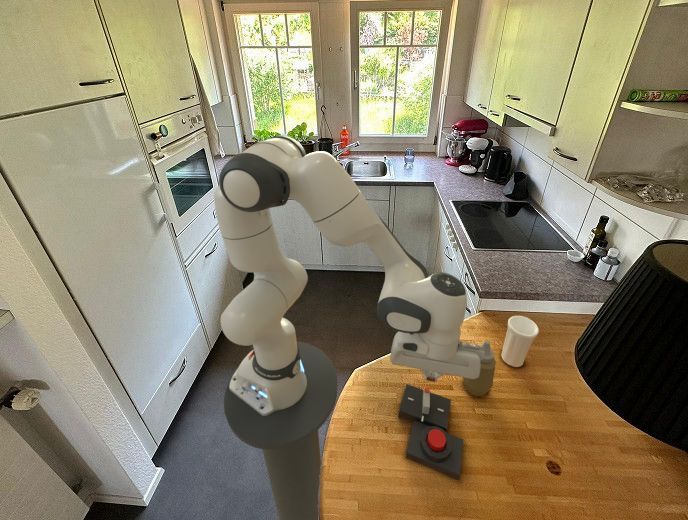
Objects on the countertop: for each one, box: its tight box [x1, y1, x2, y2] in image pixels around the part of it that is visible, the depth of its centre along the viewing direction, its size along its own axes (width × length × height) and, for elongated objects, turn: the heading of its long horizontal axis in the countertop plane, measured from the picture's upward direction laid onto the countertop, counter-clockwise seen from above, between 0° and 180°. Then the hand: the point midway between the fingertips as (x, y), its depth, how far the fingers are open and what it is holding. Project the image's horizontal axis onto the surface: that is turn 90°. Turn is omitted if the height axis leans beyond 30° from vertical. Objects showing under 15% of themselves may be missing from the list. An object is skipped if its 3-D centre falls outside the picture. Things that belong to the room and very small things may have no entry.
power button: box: [427, 429, 446, 452], centre depth 75 cm, size 4×4×2 cm
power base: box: [405, 420, 464, 481], centre depth 76 cm, size 12×8×4 cm, turn 68°
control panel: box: [398, 383, 452, 433], centre depth 84 cm, size 12×9×3 cm
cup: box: [500, 315, 540, 368], centre depth 96 cm, size 8×8×14 cm
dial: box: [422, 387, 431, 414], centre depth 83 cm, size 5×2×3 cm, turn 168°
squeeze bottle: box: [462, 339, 497, 397], centre depth 87 cm, size 8×8×18 cm
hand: (430, 378), depth 78 cm, fingers closed
